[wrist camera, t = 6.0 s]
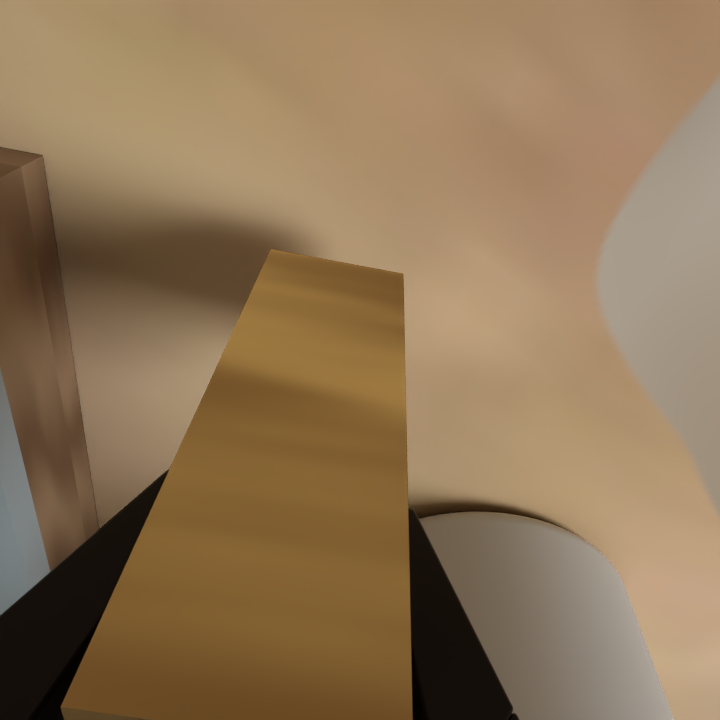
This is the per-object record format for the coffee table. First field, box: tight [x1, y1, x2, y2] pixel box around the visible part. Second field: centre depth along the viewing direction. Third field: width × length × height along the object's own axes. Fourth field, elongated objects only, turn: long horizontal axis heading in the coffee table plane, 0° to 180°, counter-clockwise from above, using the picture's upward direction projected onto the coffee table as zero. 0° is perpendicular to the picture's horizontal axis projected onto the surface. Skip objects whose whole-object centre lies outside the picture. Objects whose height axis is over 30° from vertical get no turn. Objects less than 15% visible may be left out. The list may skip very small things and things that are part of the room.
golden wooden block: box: [61, 249, 413, 720], centre depth 10 cm, size 3×3×10 cm
